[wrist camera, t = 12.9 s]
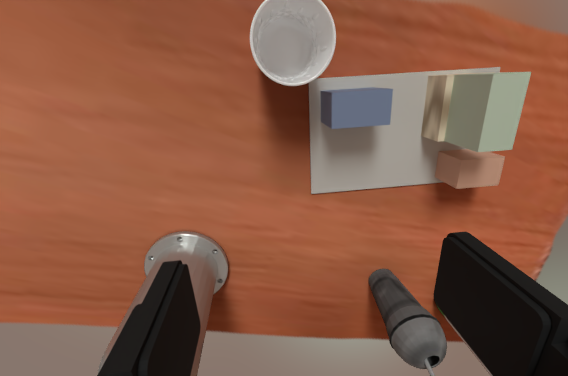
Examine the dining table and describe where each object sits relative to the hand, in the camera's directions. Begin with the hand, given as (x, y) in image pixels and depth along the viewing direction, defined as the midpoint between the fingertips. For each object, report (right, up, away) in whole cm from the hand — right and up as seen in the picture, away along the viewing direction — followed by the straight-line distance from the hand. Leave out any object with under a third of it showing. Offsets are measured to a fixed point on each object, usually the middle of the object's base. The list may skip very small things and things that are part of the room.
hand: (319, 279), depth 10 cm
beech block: (+21, +15, +29) cm, 39 cm away
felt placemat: (+15, +11, +30) cm, 35 cm away
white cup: (-1, +20, +25) cm, 32 cm away
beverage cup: (+16, -13, +39) cm, 44 cm away
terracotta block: (+25, +7, +32) cm, 41 cm away
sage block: (+21, +13, +25) cm, 35 cm away
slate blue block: (+7, +14, +27) cm, 32 cm away
